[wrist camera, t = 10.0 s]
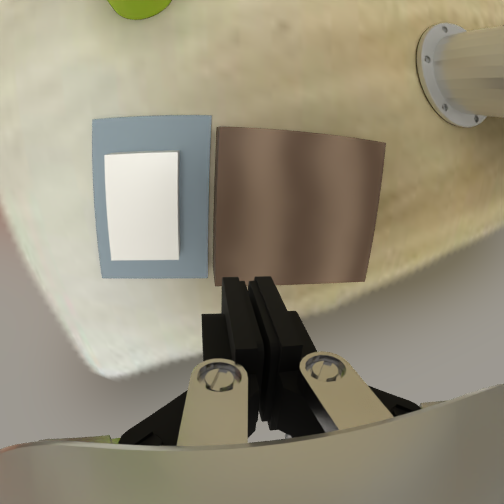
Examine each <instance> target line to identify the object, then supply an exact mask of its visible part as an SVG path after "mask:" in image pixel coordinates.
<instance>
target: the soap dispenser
mask: <svg viewBox="0 0 504 504" xmlns="http://www.w3.org/2000/svg"><path fill="white" fill-rule="evenodd" d="M107 1H108V2H109V3H110V5H111V6H112V7H113V9H114V10H115V11H116V12H117V13H118V14H119V15H120V16H122V17H124V18H127V19H134V20H137V19H145V18H149V17H151V16H154V15H156V14H158V13H159V12H161V11H162V10H164V9H165V8H166V7H167V6H168V5H169V3H170V2H171V0H107Z"/></svg>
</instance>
